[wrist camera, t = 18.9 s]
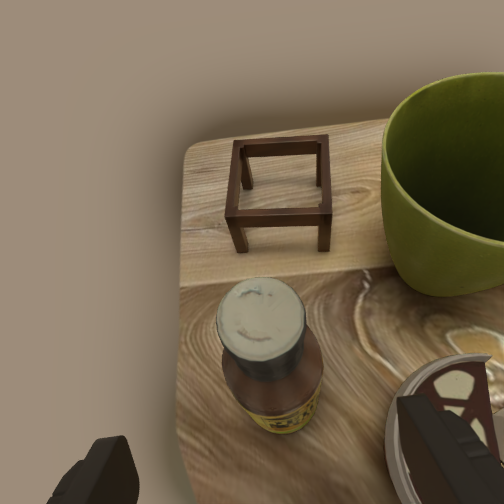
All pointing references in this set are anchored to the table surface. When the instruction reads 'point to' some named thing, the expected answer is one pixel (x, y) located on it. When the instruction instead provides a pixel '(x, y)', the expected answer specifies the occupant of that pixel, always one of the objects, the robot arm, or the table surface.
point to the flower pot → (446, 185)
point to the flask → (499, 431)
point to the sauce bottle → (270, 354)
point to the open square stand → (281, 216)
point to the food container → (443, 398)
